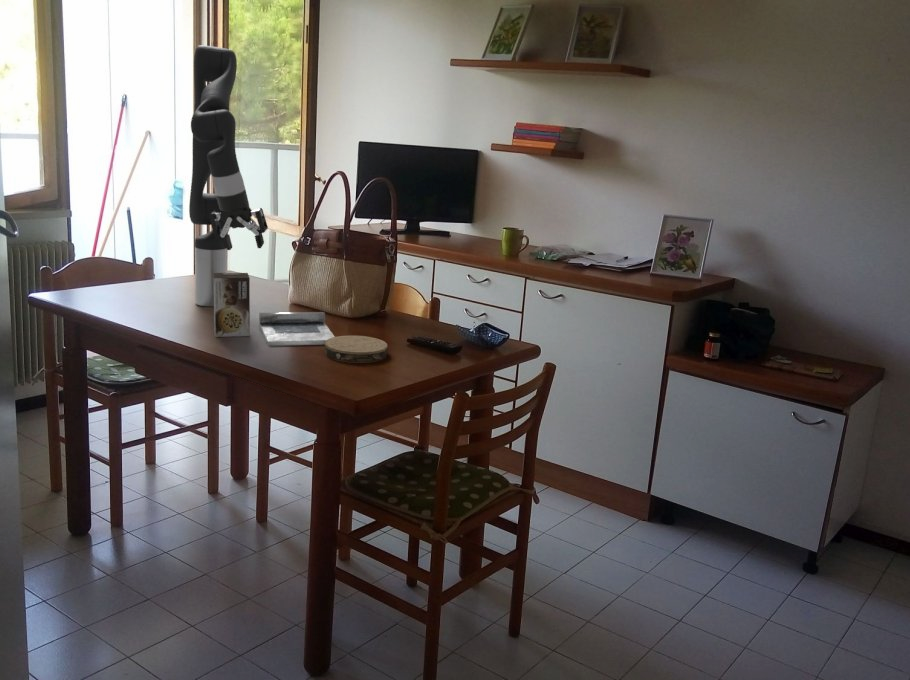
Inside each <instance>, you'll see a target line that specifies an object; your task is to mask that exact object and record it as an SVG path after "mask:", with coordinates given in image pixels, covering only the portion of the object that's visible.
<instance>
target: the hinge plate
mask: <svg viewBox="0 0 910 680" xmlns="http://www.w3.org/2000/svg"><path fill="white" fill-rule="evenodd" d="M325 322H326V313H325V312H323V311H319V312H318V311H317V312H316V311H315V312H314V311H313V312H311V311H310V312H309V311H308V312H307V311H306V312H305V311H304V312H301V311H299V312H296V311H294V312H291V311H290V312H259V313H258V328H259V330H260V332H261V334H262V335H263V338H264V340H265V342H266V345H267V347H272V346H273V347H275V346H276V347H277V346H280V347H281V346H282V347H283V346H312V345H313V346H318V345H320V346H323V345H324V346H325V341H326V340H328V339H330V338H333V337H336V336H335V335H334V334H333V331H331V330H330V328H329V327H328V325H326V323H325Z"/></svg>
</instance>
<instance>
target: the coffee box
mask: <svg viewBox="0 0 910 680" xmlns="http://www.w3.org/2000/svg"><path fill="white" fill-rule="evenodd" d="M250 283H251V277H250V275H249V273H248V272H227V273H214V306H213V319H214V320H213V323H214V324H213V330H214V332H213V333H214V337H215V338H221V337H222V338H226V337H231V338H232V337H250V335H251V319H250V318H251V312H250V311H251V310H250V306H251V305H250V302H251V299H250V298H251V297H250V296H251V295H250V291H251V289H250Z"/></svg>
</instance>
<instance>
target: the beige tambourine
mask: <svg viewBox="0 0 910 680" xmlns="http://www.w3.org/2000/svg"><path fill="white" fill-rule="evenodd" d="M387 354H388V343H387V342H386V341H385V340H382V339H379V338H375V337H373V336H366V335H341V336H340V335H339V336H335V337H333V338H330V339H328V340H326V341H325V345H324V355H325V356H326V357H327V358H329V359H332V360H335V361H338V362H344V363H345V362H346V363H351V364H352V363H353V364H356V363H357V364H363V363H365V364H367V363H374V362H375V363H376V362H379V361H382V360H384V359H386V358H387V356H388V355H387Z"/></svg>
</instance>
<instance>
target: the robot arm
mask: <svg viewBox="0 0 910 680" xmlns="http://www.w3.org/2000/svg"><path fill="white" fill-rule="evenodd" d="M194 50H195V51H194V56H193V75H194V76H193V82H194V83H193V85H194V89H193V90H194V107H193V108H194V111H193V114H192V117H191V119H190V120H191V121H190V130H191V133H192V171H191V184H190V194H189V195H190V196H189V208H188V211H189V212H188V213H189V218H190V222H191V223H192V224H193V225H199V226H200V225H202V226H203V225H205V226H211V230H210V231H209V232H207V233H203V234H201V235H199V236H197V237H196V238H195V239H194V267H195V268H194V277H195V279H194V281H195V282H194V283H195V288H194V292H195V297H194V298H195V299H194V301H195V302H194V303H195V305H198V306H201V307H214V273H228V251H231V250H232V249H233V243H232V240H231V239H232V238H231V236H230V234H228V233H229V231H230V229H231V228H232V229H237V228H241V229H243V228H246V229H247V230H248V231H251V232H252V233H253V234H254V238H255V243H256V246H257V249H262V247H263V245H265V240H264V235H263V234H264V233H266V231H267V230H268V229H269V227H268V223H267V220H266V216H265V213H264V210H263V208H262V207H259V208H258V209H253V210H252V208H251V207H250V203H249V199H248V194H247V191H246V187H245V181H244V177H243V175H242V173H241V170H240V166H239V162H238V158H237V154H236V153H237V152H236V130H237V129H236V127H237V125H236V119H235V116H234V115H233V113H232V112H231V111H230V102H231V101H230V99H231V94H232V91H233V88H234V84H235V81H236V77H237V76H236V75H237V71H238V70H237V69H238V68H237V67H238V66H237V63H238V61H237V60H238V59H237V55H236V53H235V52H234V50H231V49H230V48H224V47H218V46H211V45H204V44H201V45H200V44H199V45H198V46H197V47H196V48H195V49H194ZM207 82H208V84H207ZM210 176H211V178H212V185H213V191H214V193H210V192H209V193H206V192H205V193H204V190H205V187H206V184H207V182H208V180H209V178H210ZM252 217H254V219H253V218H252ZM255 219H256V221H257V222H256V221H255Z"/></svg>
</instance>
